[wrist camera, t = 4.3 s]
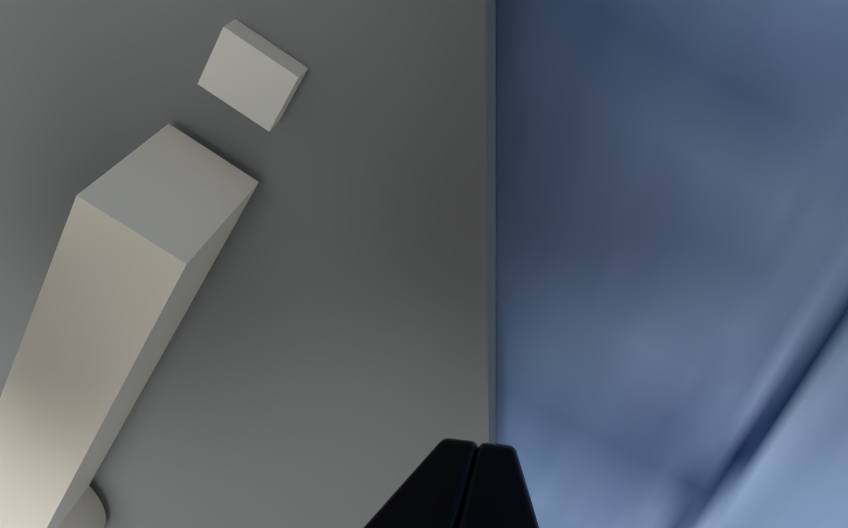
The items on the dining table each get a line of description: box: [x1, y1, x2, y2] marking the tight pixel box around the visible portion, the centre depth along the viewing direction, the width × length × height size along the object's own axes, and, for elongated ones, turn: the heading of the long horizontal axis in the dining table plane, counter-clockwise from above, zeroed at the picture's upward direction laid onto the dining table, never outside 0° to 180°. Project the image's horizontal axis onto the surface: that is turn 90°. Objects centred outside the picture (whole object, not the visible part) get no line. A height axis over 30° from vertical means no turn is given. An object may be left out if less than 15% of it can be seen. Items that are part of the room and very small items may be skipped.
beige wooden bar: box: [0, 124, 259, 528], centre depth 14 cm, size 13×3×2 cm, turn 148°
